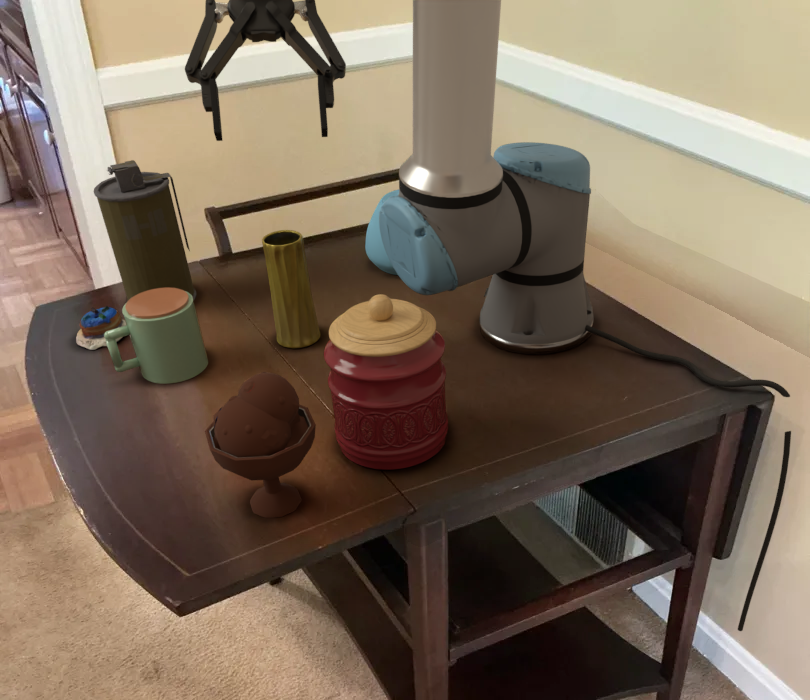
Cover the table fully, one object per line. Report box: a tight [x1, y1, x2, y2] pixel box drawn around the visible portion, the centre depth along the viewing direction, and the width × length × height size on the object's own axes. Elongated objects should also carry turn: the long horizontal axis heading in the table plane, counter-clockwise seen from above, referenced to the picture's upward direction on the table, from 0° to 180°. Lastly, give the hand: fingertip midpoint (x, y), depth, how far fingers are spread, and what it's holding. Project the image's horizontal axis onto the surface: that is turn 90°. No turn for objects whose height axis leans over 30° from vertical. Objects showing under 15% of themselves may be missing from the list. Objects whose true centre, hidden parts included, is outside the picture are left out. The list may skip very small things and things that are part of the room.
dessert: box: [75, 305, 126, 351], centre depth 121 cm, size 8×7×6 cm
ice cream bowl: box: [204, 371, 317, 519], centre depth 85 cm, size 11×11×15 cm
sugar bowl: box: [364, 188, 399, 276], centre depth 131 cm, size 15×15×12 cm
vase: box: [261, 229, 321, 349], centre depth 113 cm, size 6×6×14 cm
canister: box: [93, 159, 197, 301], centre depth 123 cm, size 11×10×20 cm
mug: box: [104, 288, 209, 385], centre depth 110 cm, size 9×12×9 cm
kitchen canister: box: [323, 293, 449, 471], centre depth 92 cm, size 13×13×18 cm
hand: (271, 135), depth 109 cm, fingers open, 13 cm apart
